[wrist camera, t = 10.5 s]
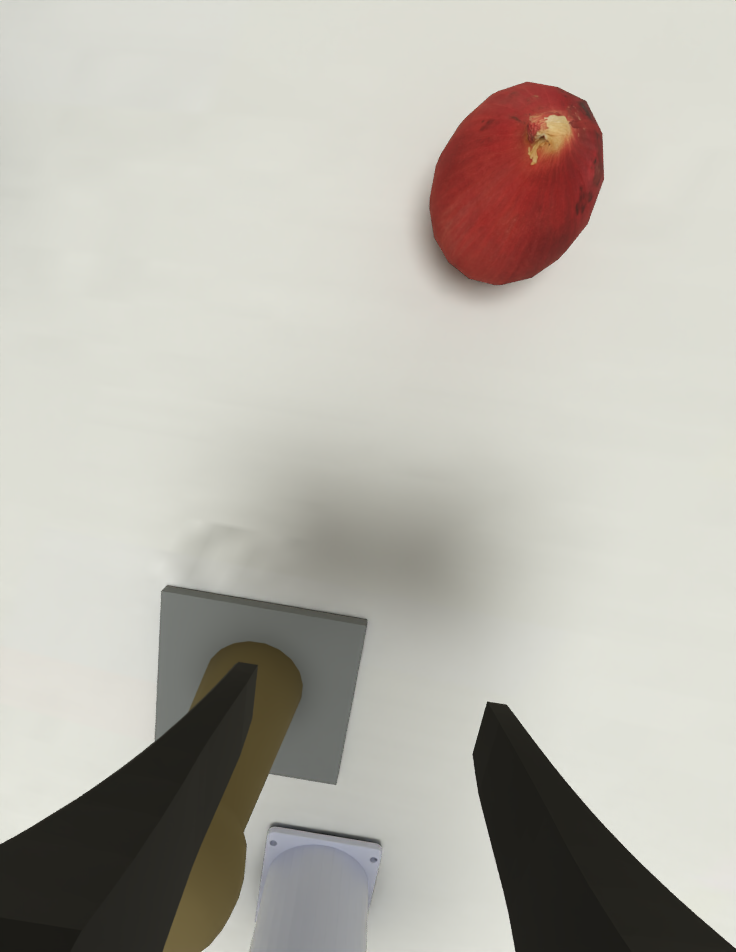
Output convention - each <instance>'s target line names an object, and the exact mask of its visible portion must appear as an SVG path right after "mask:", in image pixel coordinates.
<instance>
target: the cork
mask: <svg viewBox="0 0 736 952" xmlns="http://www.w3.org/2000/svg"><path fill="white" fill-rule="evenodd" d="M238 662H243V663H250V664H256V665H258V670H257V679H256V689H255V698H254V708H253V717H252V721H251V724H250V727H249V731H248V734H247V737H246V740H245V743H244V746H243V749H242V752H241V755H240V757H239V760H238V762H237V764H236V767H235V769H234V771H233V774H232V776H231V778H230V780H229V783H228V785H227V787H226V790H225V792H224V794H223V796H222V799H221V801H220V803H219V805H218V808H217V810H216V812H215V815H214V817H213V819H212V821H211V824H210V826H209V828H208V831H207V833H206V835H205V837H204V840H203V842H202V844H201V847H200V849H199V852H198V854H197V857H196V859H195V862H194V864H193V867H192V870H191V872H190V875H189V878H188V881H187V884H186V886H185V889H184V892H183V895H182V898H181V900H180V903H179V906H178V909H177V912H176V915H175V917H174V920H173V923H172V926H171V929H170V932H169V935H168V938H167V940H166V943H165V946H164V949H163V952H201V951H202V950H204V949H205V948H206V947H208V946H209V945H210V944H211V943H212V942H213V940H214V939H215V938H216V937H217V935H218V934H219V933H220V932H221V931H222V929H223V927H224V926H225V924H226V922H227V921H228V919H229V917H230V915H231V913H232V911H233V909H234V907H235V905H236V903H237V900H238V898H239V895H240V891H241V887H242V884H243V880H244V872H245V860H246V848H247V844H246V840H245V836H244V833H243V832H244V830H245V828H246V825H247V823H248V821H249V818H250V816H251V814H252V811H253V809H254V807H255V804H256V802H257V800H258V797H259V795H260V793H261V791H262V788H263V786H264V784H265V781H266V779H267V777H268V774H269V772H270V770H271V767H272V765H273V763H274V760H275V758H276V756H277V753H278V751H279V749H280V746H281V744H282V742H283V739H284V737H285V735H286V732H287V730H288V728H289V725H290V723H291V721H292V718H293V716H294V714H295V711H296V709H297V707H298V704H299V702H300V700H301V697H302V688H303V683H302V679H301V675H300V672H299V670H298V669H297V667H296V666H295V664H294V662H293V661H292V660H291V659H290V658H289V657H288V656H287V655H285V654H284V653H283V652H282V651H281V650H279V649H277V648H274V647H272V646H270V645H268V644H265V643H259V642H252V641H246V642H239V643H233V644H231V645H229V646H227V647H225V648H222V649H220V650H219V651H218V652H217V653H216V654H215V655H214V656H213V657H212V658H211V660H210V662H209V664H208V666H207V669H206V671H205V673H204V676H203V678H202V680H201V683H200V685H199V688H198V690H197V692H196V695H195V697H194V699H193V702H192V704H191V707H190V709H189V711H190V710H191V709H192V708H193V707H194V706H195V705H196V704H197V703H198V702H199V701H200V700H201V699H202V698H203V697H204V696H205V695H206V694H207V693H208V692H209V691H210V690H211V689H212V688H213V687H214V686H215V685H216V684H217V683H218V682H219V681H220V680H221V679H222V678H223V677H224V676H225V675H226V673H227V672H228V671H229V670H230V669H231V668H232V667H233V666H234V665H235V664H236V663H238ZM189 711H188V712H189Z"/></svg>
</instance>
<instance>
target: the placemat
mask: <svg viewBox="0 0 736 952" xmlns="http://www.w3.org/2000/svg"><path fill="white" fill-rule="evenodd" d="M366 627H367V620H366V619H360V618H354V617H348V616H342V615H336V614H330V613H325V612H319V611H313V610H307V609H301V608H295V607H289V606H284V605H278V604H272V603H266V602H260V601H254V600H248V599H242V598H237V597H231V596H225V595H219V594H213V593H207V592H201V591H195V590H190V589H184V588H178V587H172V586H166V587H165V588H164V589H163V590H162V591H161V611H160V634H159V657H158V679H157V702H156V725H155V741H156V740H157V739H158V738H160V737H161V736H162V735H163V734H164V733H165V732H166V731H168V730H169V729H170V728H171V727H172V726H173V725H174V724H176V723H177V722H178V721H179V720H180V719H181V718H182V717H183V716H184V715H186V714H187V713H188V711H189V709H190V707H191V704H192V702H193V699H194V697H195V695H196V692H197V690H198V688H199V685H200V683H201V680H202V678H203V676H204V673H205V671H206V669H207V666H208V664H209V662H210V660H211V658H212V657H213V656H214V655H215V654H216V653H217V652H218V651H219V650H220V649H222V648H225V647H227V646H229V645H231V644H233V643H239V642H246V641H252V642H259V643H265V644H268V645H270V646H272V647H274V648H277V649H279V650H281V651H282V652H283V653H284V654H285V655H287V656H288V657H289V658H290V659H291V660H292V661H293V662H294V664H295V666H296V667H297V669H298V670H299V672H300V675H301V679H302V683H303V688H302V697H301V700H300V702H299V704H298V707H297V709H296V711H295V714H294V716H293V718H292V721H291V723H290V725H289V728H288V730H287V732H286V735H285V737H284V739H283V742H282V744H281V746H280V749H279V751H278V753H277V756H276V758H275V760H274V763H273V765H272V767H271V770H270V772H269V774H274V775H280V776H286V777H291V778H297V779H303V780H309V781H315V782H321V783H327V784H333V785H336V783H337V778H338V773H339V768H340V763H341V757H342V752H343V747H344V742H345V737H346V731H347V726H348V721H349V716H350V710H351V705H352V700H353V695H354V690H355V684H356V679H357V674H358V669H359V664H360V658H361V653H362V648H363V643H364V637H365V632H366Z"/></svg>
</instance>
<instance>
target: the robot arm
mask: <svg viewBox="0 0 736 952" xmlns="http://www.w3.org/2000/svg"><path fill="white" fill-rule="evenodd" d="M257 670H258V665H256V664H250V663H243V662H238V663H236V664H235V665H234V666H233V667H232V668H231V669H230V670H229V671H228V672H227V673H226V675H225V676H224V677H223V678H222V679H221V680H220V681H219V682H218V683H217V684H216V685H215V686H214V687H213V688H212V689H211V690H210V691H209V692H208V693H207V694H206V695H205V696H204V697H203V698H202V699H201V700H200V701H199V702H198V703H197V704H196V705H195V706H194V707H193V708H192V709H191V710H190V711H189V712H188V713H187V714H186V715H184V716H183V717H182V718H181V719H180V720H179V721H178V722H177V723H176V724H174V725H173V726H172V727H171V728H170V729H169V730H168V731H166V732H165V733H164V734H163V735H162V736H161V737H160V738H158V739H157V740H156V741H155V742H154V743H152V744H151V745H150V746H149V747H148V748H146V749H145V750H144V751H143V752H141V753H140V754H139V755H137V756H136V757H135V758H134V759H132V760H131V761H130V762H128V763H127V764H126V765H124V766H123V767H122V768H120V769H119V770H118V771H116V772H115V773H113V774H112V775H111V776H109V777H108V778H106V779H105V780H104V781H102V782H101V783H99V784H98V785H96V786H95V787H94V788H92V789H91V790H89V791H88V792H86V793H85V794H83V795H82V796H80V797H79V798H77V799H76V800H74V801H73V802H71V803H69V804H68V805H66V806H64V807H63V808H61V809H60V810H58V811H56V812H55V813H53V814H51V815H50V816H48V817H47V818H45V819H43V820H42V821H40V822H39V823H37V824H35V825H34V826H32V827H30V828H29V829H27V830H25V831H23V832H22V833H20V834H18V835H17V836H15V837H13V838H11V839H9V840H7V841H5V842H4V843H2V844H0V952H163V949H164V946H165V943H166V940H167V938H168V935H169V932H170V929H171V926H172V923H173V920H174V917H175V915H176V912H177V909H178V906H179V903H180V900H181V898H182V895H183V892H184V889H185V886H186V884H187V881H188V878H189V875H190V872H191V870H192V867H193V864H194V862H195V859H196V857H197V854H198V852H199V849H200V847H201V844H202V842H203V840H204V837H205V835H206V833H207V831H208V828H209V826H210V824H211V821H212V819H213V817H214V815H215V812H216V810H217V808H218V805H219V803H220V801H221V799H222V796H223V794H224V792H225V790H226V787H227V785H228V783H229V780H230V778H231V776H232V774H233V771H234V769H235V767H236V764H237V762H238V760H239V757H240V755H241V752H242V749H243V746H244V743H245V740H246V737H247V734H248V731H249V727H250V724H251V721H252V717H253V708H254V698H255V689H256V679H257ZM473 760H474V767H475V775H476V781H477V787H478V794H479V798H480V802H481V806H482V810H483V814H484V818H485V822H486V826H487V830H488V833H489V837H490V841H491V845H492V849H493V853H494V857H495V860H496V864H497V868H498V872H499V876H500V880H501V884H502V888H503V891H504V896H505V900H506V905H507V909H508V913H509V918H510V924H511V929H512V935H513V940H514V946H515V951H516V952H736V948H734V947H733V946H732V945H731V944H730V943H728V942H727V941H726V940H725V939H724V938H723V937H721V936H720V935H719V934H718V933H717V932H716V931H714V930H713V929H712V928H711V927H710V926H709V925H707V924H706V923H705V922H704V921H703V920H702V919H700V918H699V917H698V916H697V915H696V914H695V913H694V912H692V911H691V910H690V909H689V908H688V907H687V906H686V905H685V904H684V903H682V902H681V901H680V900H679V899H678V898H677V897H676V896H675V895H674V894H673V893H671V892H670V891H669V890H668V889H667V888H666V887H665V886H664V885H663V884H662V883H661V882H660V881H659V880H658V879H657V878H656V877H655V876H653V875H652V874H651V873H650V872H649V871H648V870H647V869H646V868H645V867H644V866H643V865H642V864H641V863H640V862H639V861H638V860H637V859H636V858H635V857H634V856H633V855H632V854H631V853H630V852H629V851H628V850H627V849H626V848H625V847H624V846H623V845H622V844H621V843H620V842H619V841H618V840H617V838H616V837H615V836H614V835H613V834H612V833H611V832H610V831H609V830H608V829H607V828H606V827H605V826H604V825H603V824H602V823H601V821H600V820H599V819H598V818H597V817H596V816H595V815H594V814H593V813H592V812H591V810H590V809H589V808H588V807H587V806H586V805H585V803H584V802H583V801H582V800H581V799H580V798H579V796H578V795H577V794H576V793H575V792H574V791H573V789H572V788H571V787H570V786H569V785H568V783H567V782H566V781H565V780H564V779H563V777H562V776H561V775H560V774H559V772H558V771H557V770H556V769H555V767H554V766H553V765H552V764H551V762H550V761H549V760H548V758H547V757H546V756H545V755H544V753H543V752H542V751H541V749H540V748H539V747H538V745H537V744H536V743H535V742H534V740H533V739H532V738H531V736H530V735H529V734H528V732H527V731H526V730H525V728H524V727H523V726H522V724H521V723H520V722H519V720H518V719H517V718H516V716H515V715H514V714H513V712H512V711H511V710H510V708H509V707H508V706H507V705H505V704H499V703H493V702H487V704H486V708H485V711H484V715H483V719H482V722H481V726H480V729H479V733H478V737H477V740H476V744H475V747H474V751H473ZM381 857H382V847H381V846H380V845H379V844H377V843H372V842H366V841H360V840H354V839H348V838H342V837H336V836H330V835H324V834H318V833H312V832H306V831H300V830H294V829H288V828H282V827H271V828H270V829H269V831H268V834H267V840H266V847H265V854H264V861H263V868H262V875H261V882H260V889H259V897H258V904H257V911H256V918H255V922H256V924H255V929H254V933H253V937H252V942H251V946H250V950H249V952H366V950H367V914H368V910H369V906H370V902H371V898H372V894H373V890H374V886H375V881H376V877H377V873H378V869H379V865H380V861H381Z"/></svg>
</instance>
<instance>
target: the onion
mask: <svg viewBox="0 0 736 952" xmlns="http://www.w3.org/2000/svg"><path fill="white" fill-rule="evenodd" d="M603 180H604V166H603V139H602V132H601V130H600V128H599V126H598V124H597V122H596V120H595V118H594V116H593V114H592V112H591V110H590V108H589V106H588V104H587V102H586V101H585V100H583V99H581V98H579V97H577V96H575V95H573V94H571V93H569V92H567V91H564V90H562V89H560V88H558V87H554V86H549V85H543V84H537V83H532V82H525V83H522V84H519V85H516V86H513V87H510V88H507V89H504V90H500V91H498V92H496V93H494V94H492V95H491V96H489V97H488V98H487V99H486V100H485V101H484V102H483V103H482V104H480V105H479V106H478V107H477V108H476V109H475V110H474V111H473V112H472V113H470V114H469V115H468V116H467V117H466V118H465V119H464V120H463V121H462V123H461V124H460V125H459V126H458V128H457V129H456V131H455V133H454V134H453V136H452V137H451V139H450V140H449V142H448V144H447V145H446V147H445V148H444V150H443V152H442V153H441V155H440V157H439V160H438V162H437V164H436V168H435V173H434V179H433V184H432V189H431V195H430V215H431V221H432V227H433V233H434V238H435V240H436V241H437V243H438V245H439V247H440V248H441V250H442V252H443V254H444V255H445V257H446V259H447V260H448V262H449V263H450V264H452V265H453V266H454V267H455V268H457V269H458V270H459V271H460V272H462V273H463V274H464V275H465V276H467V277H468V278H469V279H473V280H477V281H481V282H485V283H489V284H493V285H503V284H507V283H511V282H515V281H519V280H524V279H528V278H532V277H533V276H535V275H536V274H538V273H539V272H541V271H542V270H543V269H545V268H546V267H548V266H549V265H551V264H552V263H554V262H555V261H556V260H558V259H559V258H560V257H561V256H562V255H563V254H564V253H565V251H566V250H567V249H568V248H569V247H570V245H571V244H572V243H573V242H574V240H575V239H576V238H577V237H578V235H579V234H580V233H581V232H582V230H583V229H584V228H585V227H586V225H587V224H588V221H589V219H590V216H591V213H592V210H593V208H594V205H595V202H596V199H597V197H598V194H599V191H600V188H601V186H602V183H603Z"/></svg>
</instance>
